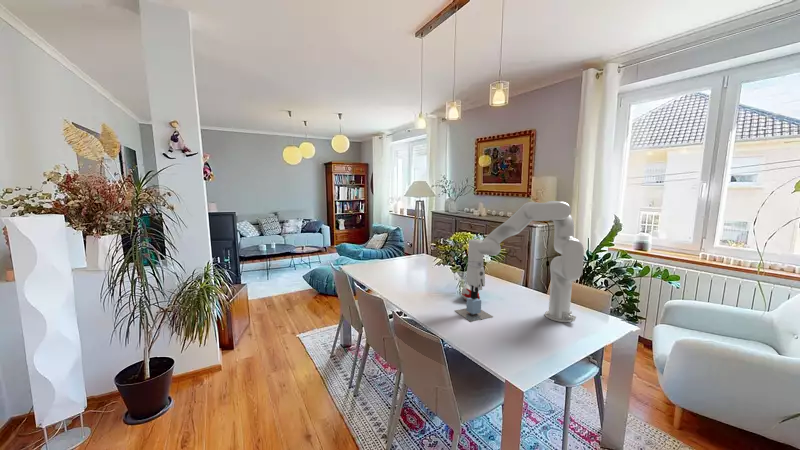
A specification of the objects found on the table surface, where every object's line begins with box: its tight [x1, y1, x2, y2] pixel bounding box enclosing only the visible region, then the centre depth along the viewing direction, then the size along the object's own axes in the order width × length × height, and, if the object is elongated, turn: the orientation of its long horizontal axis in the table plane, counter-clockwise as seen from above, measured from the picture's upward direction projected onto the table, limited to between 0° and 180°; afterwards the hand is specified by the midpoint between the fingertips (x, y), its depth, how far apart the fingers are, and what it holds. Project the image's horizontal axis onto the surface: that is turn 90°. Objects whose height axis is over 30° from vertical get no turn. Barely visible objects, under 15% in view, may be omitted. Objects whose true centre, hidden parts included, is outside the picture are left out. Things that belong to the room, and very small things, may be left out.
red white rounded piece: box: [460, 283, 481, 302], centre depth 178 cm, size 9×11×15 cm
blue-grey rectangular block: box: [466, 298, 482, 314], centre depth 158 cm, size 5×5×7 cm
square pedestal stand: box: [454, 307, 494, 323], centre depth 158 cm, size 14×14×7 cm
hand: (474, 298), depth 158 cm, fingers closed
